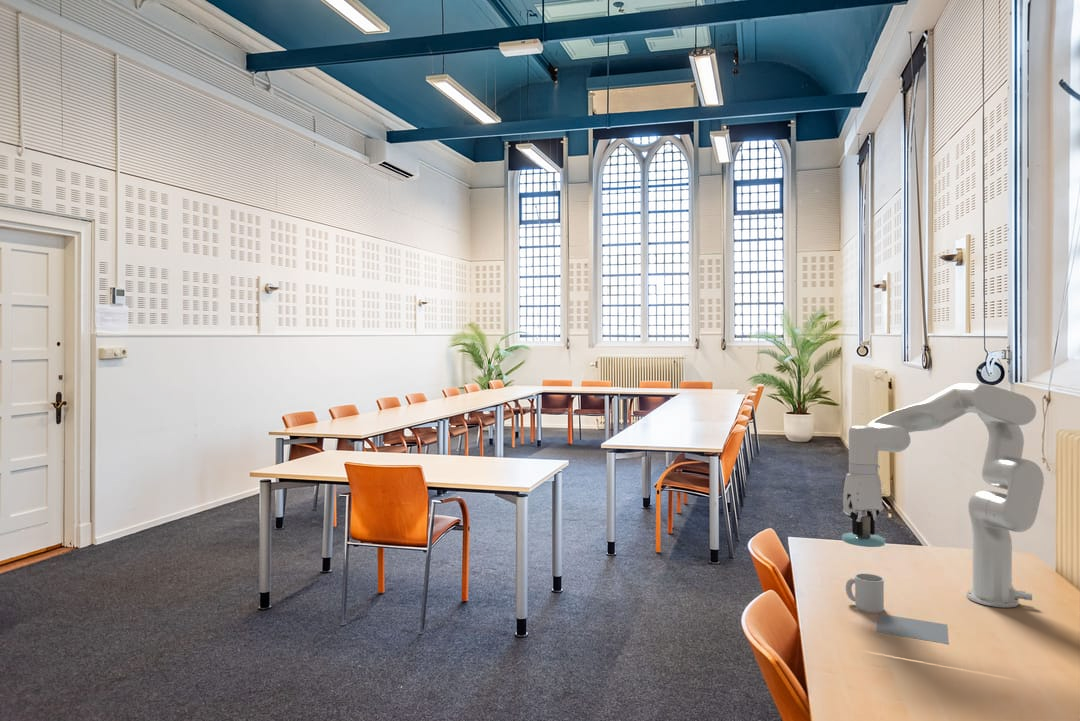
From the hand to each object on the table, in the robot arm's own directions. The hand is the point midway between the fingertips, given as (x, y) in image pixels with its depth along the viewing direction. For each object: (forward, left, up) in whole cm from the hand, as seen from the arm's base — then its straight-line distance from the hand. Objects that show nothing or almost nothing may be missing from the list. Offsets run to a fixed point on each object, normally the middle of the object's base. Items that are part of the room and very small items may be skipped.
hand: (863, 533), depth 192 cm
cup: (0, 0, -21) cm, 21 cm away
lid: (0, 0, -2) cm, 2 cm away
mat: (-12, +11, -21) cm, 27 cm away
